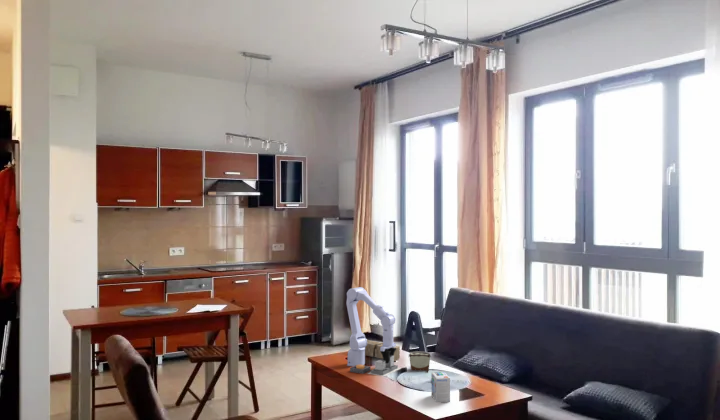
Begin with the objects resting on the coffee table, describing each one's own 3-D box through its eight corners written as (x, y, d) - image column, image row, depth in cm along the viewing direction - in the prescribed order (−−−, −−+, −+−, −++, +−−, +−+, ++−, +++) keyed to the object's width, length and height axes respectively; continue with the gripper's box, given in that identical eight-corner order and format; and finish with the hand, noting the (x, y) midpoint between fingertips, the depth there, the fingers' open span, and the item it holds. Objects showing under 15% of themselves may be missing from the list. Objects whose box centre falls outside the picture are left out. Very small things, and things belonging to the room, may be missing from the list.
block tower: (401, 360, 336) (366, 351, 356) (401, 346, 336) (366, 338, 356) (392, 363, 330) (357, 353, 351) (393, 348, 330) (357, 340, 351)
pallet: (366, 375, 300) (366, 370, 300) (383, 367, 316) (383, 362, 316) (385, 378, 294) (385, 373, 294) (401, 369, 310) (401, 365, 310)
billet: (384, 367, 308) (384, 356, 308) (387, 365, 311) (387, 354, 312) (390, 368, 306) (390, 356, 306) (393, 366, 309) (393, 355, 309)
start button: (354, 371, 304) (354, 365, 304) (358, 369, 308) (358, 364, 308) (361, 372, 302) (361, 366, 302) (365, 370, 305) (365, 365, 305)
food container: (431, 369, 311) (430, 351, 311) (431, 372, 305) (431, 353, 305) (408, 369, 312) (408, 351, 312) (408, 372, 306) (408, 353, 306)
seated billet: (375, 372, 300) (375, 361, 301) (378, 371, 304) (378, 360, 304) (381, 373, 298) (381, 362, 298) (385, 372, 302) (385, 360, 302)
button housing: (350, 373, 303) (350, 367, 303) (357, 370, 310) (357, 364, 310) (362, 375, 299) (362, 369, 299) (370, 372, 306) (370, 366, 306)
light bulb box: (431, 395, 264) (430, 372, 264) (445, 394, 265) (445, 371, 265) (436, 402, 254) (435, 378, 254) (450, 402, 254) (450, 377, 254)
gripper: (388, 340, 301) (388, 365, 301) (400, 335, 313) (400, 360, 313) (376, 338, 305) (377, 364, 304) (389, 334, 317) (389, 358, 317)
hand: (388, 362), depth 309 cm, fingers closed on billet, 4 cm apart
